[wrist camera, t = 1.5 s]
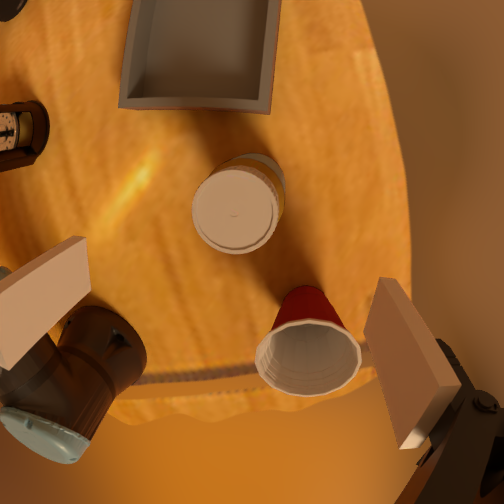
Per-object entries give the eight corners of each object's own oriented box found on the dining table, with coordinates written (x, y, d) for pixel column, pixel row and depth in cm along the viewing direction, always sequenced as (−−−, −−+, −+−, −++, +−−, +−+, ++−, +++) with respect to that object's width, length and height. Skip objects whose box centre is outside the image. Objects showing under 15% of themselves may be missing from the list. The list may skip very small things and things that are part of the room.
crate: (137, 110, 34) (118, 108, 29) (163, -49, 25) (150, -65, 21) (270, 114, 33) (267, 111, 28) (286, -53, 24) (286, -73, 20)
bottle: (296, 192, 36) (303, 229, 22) (245, 223, 38) (221, 276, 24) (263, 141, 34) (248, 143, 20) (212, 174, 36) (167, 198, 22)
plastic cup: (245, 307, 42) (231, 366, 31) (303, 250, 38) (309, 298, 27) (303, 351, 44) (306, 414, 32) (361, 303, 40) (382, 360, 29)
